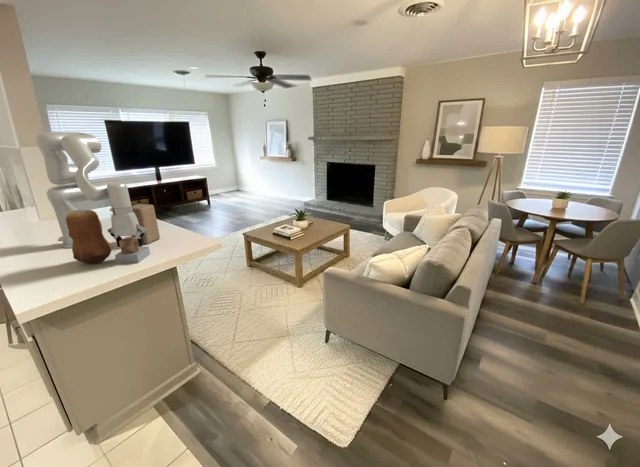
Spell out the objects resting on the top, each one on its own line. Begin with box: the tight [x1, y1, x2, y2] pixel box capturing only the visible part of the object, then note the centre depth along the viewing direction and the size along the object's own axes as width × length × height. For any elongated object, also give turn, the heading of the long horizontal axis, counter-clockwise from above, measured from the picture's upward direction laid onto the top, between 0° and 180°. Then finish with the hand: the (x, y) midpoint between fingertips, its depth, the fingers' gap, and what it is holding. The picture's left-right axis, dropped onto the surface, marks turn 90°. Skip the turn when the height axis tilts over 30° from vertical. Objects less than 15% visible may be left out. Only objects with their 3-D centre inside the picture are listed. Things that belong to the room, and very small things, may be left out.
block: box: [130, 203, 161, 245], centre depth 157 cm, size 10×10×20 cm
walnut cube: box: [119, 236, 143, 253], centre depth 135 cm, size 6×6×6 cm
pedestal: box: [114, 246, 151, 264], centre depth 137 cm, size 10×10×4 cm
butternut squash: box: [66, 209, 112, 264], centre depth 130 cm, size 14×13×25 cm
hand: (131, 245), depth 135 cm, fingers open, 9 cm apart
